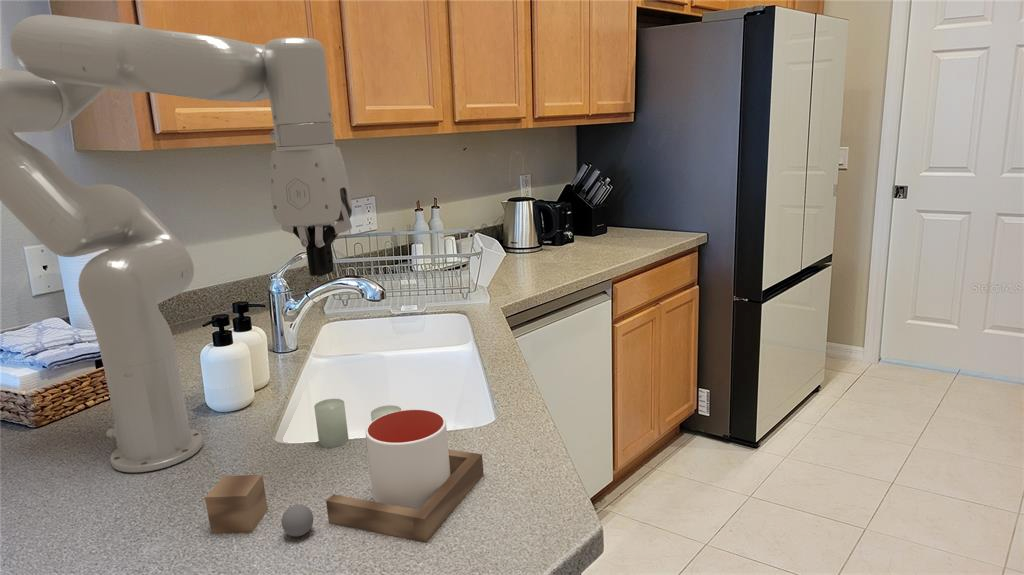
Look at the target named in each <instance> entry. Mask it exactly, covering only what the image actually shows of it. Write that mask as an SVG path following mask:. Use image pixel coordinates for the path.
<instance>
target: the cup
mask: <svg viewBox="0 0 1024 575" xmlns="http://www.w3.org/2000/svg"><path fill="white" fill-rule="evenodd" d="M364 434H365V440H366V448H367V449H366V450H367V459H368V467H369V474H370V485H371V493H372V497H373V500H374V502H379V503H384V504H390V505H395V506H401V507H406V508H412V509H417V510H420V509H421V508H422V506H423V505H424V504H425V503H426V502H427V501H428V500H429V499H430V498H431V497H432V496H433V495H434V493H435V492H436V491H437V490H438V489H439V488H440V487H441V486H442V485H443V484H444V483H445V482H446V480H447V479H448V478H449V477H450V476H451V475H450V464H449V452H448V449H449V440H448V430H447V420H446V418H445V417H444V416H443V415H441V414H440V413H439V412H435V411H433V410H428V409H421V408H420V409H418V408H415V409H404V410H403V409H401V411H396V412H392V413H389V414H386V415H383V416H381V417H379V418H377V419H375V420H374V421H372V420H371V422H369V424H368V425H367V426H366V428H365V433H364Z"/></svg>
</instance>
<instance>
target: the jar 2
mask: <svg viewBox="0 0 1024 575" xmlns="http://www.w3.org/2000/svg"><path fill="white" fill-rule="evenodd" d="M396 411H402V407H400V406H398V405H392V404H391V405H390V404H389V405H383V406H379V407H377V408H374V409H373V410H371V411H370V418H371V422H372V421H374V420H375V419H377V418H379V417H381V416H383V415H386V414H389V413H392V412H396Z"/></svg>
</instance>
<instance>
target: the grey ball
mask: <svg viewBox="0 0 1024 575" xmlns="http://www.w3.org/2000/svg"><path fill="white" fill-rule="evenodd" d="M313 524H314V515H313V512H312V510H311V509H310V508H309V507H308V506H306V505H304V504H299V503H298V504H293V505H291V506H290V507H288V508H287V509H286V510H285V511H284V513H283V514H282V517H281V527H282V529H283V531H284V532H285V534H287V535H289V536H291V537H301V536H304V535H306V534H307V533H308V532H309V531H310V530H311V529H312V527H313Z"/></svg>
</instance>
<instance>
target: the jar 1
mask: <svg viewBox="0 0 1024 575" xmlns="http://www.w3.org/2000/svg"><path fill="white" fill-rule="evenodd" d="M313 408H314V414H315V422H316V423H315V424H316V430H317V438H318V444H319V446H320V447H322V448H326V449H327V448H328V449H329V448H336V447H341V446H343V445H344V444H345V445H346V443H347V442H348V441H349V431H348V424H347V416H346V415H347V414H346V406H345V401H344V400H343V399H340V398H328V399H323V400H321V401H318V402H316V403H315V404H314V406H313Z"/></svg>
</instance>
